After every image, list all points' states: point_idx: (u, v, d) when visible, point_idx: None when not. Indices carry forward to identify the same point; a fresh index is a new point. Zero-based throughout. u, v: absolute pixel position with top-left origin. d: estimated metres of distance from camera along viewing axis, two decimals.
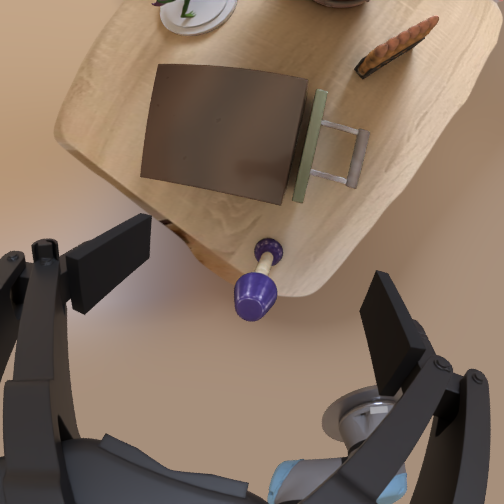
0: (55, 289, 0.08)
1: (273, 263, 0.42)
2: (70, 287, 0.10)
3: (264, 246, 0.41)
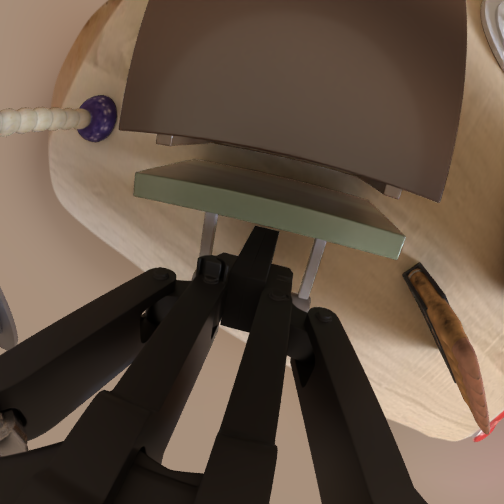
0: (208, 313, 0.09)
1: (78, 130, 0.19)
2: (225, 303, 0.12)
3: (98, 109, 0.18)
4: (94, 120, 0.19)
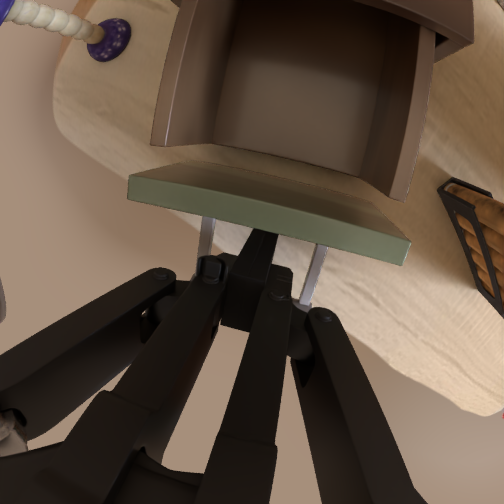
0: (208, 313, 0.09)
1: (89, 49, 0.16)
2: (225, 303, 0.12)
3: (113, 26, 0.15)
4: (107, 36, 0.15)
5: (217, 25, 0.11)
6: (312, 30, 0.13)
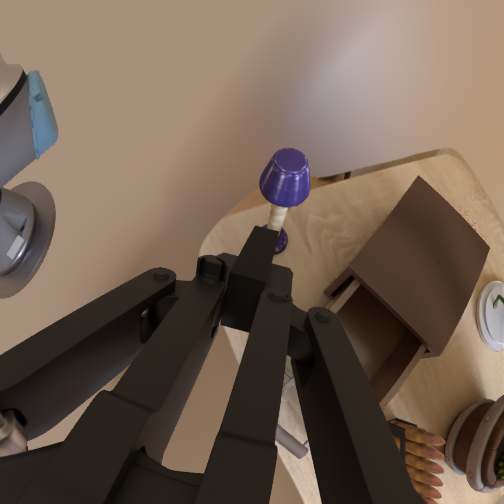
0: (208, 313, 0.09)
1: None
2: (225, 303, 0.12)
3: (283, 237, 0.36)
4: (277, 240, 0.36)
5: None
6: (372, 321, 0.32)
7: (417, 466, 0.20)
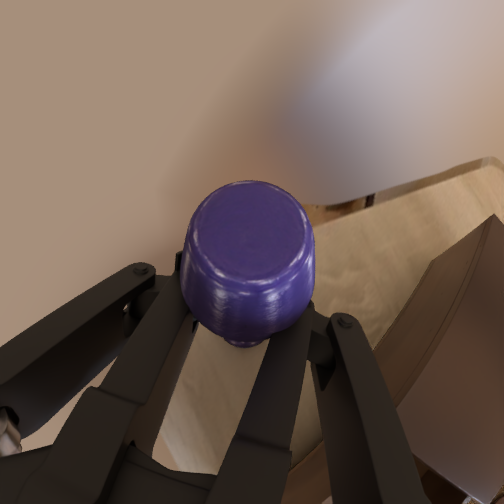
0: (188, 307, 0.09)
1: None
2: None
3: None
4: None
5: None
6: None
7: None
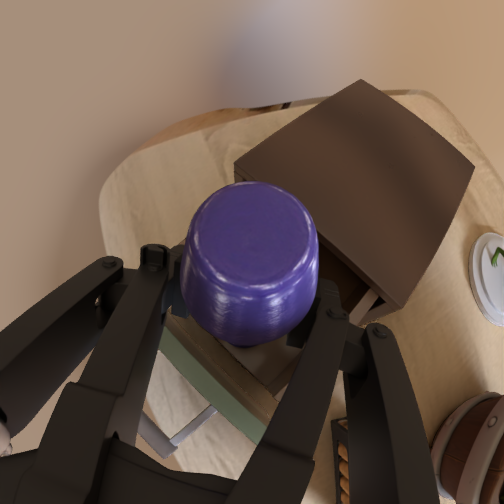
0: (156, 299, 0.09)
1: None
2: (174, 292, 0.12)
3: None
4: None
5: None
6: None
7: None
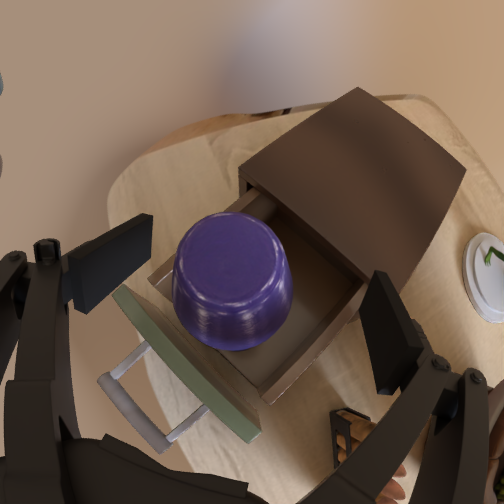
0: (57, 289, 0.08)
1: None
2: (72, 287, 0.10)
3: None
4: None
5: None
6: None
7: None
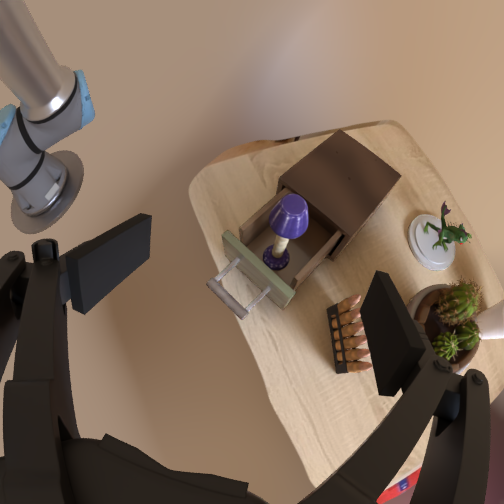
0: (55, 289, 0.08)
1: (267, 254, 0.44)
2: (70, 287, 0.10)
3: (285, 256, 0.44)
4: (281, 258, 0.44)
5: None
6: None
7: (348, 330, 0.36)
